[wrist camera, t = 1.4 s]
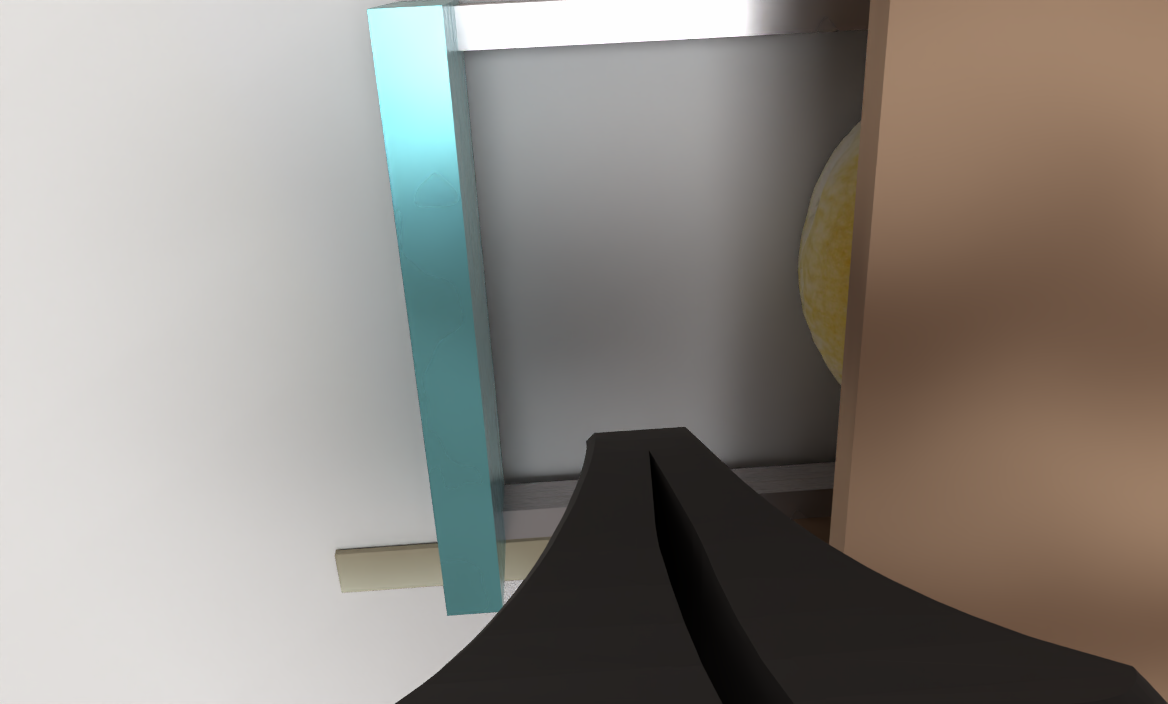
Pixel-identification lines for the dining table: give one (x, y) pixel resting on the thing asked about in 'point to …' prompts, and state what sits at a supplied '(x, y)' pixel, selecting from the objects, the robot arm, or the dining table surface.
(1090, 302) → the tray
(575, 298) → the dining table surface
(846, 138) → the bread roll
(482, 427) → the drawer
